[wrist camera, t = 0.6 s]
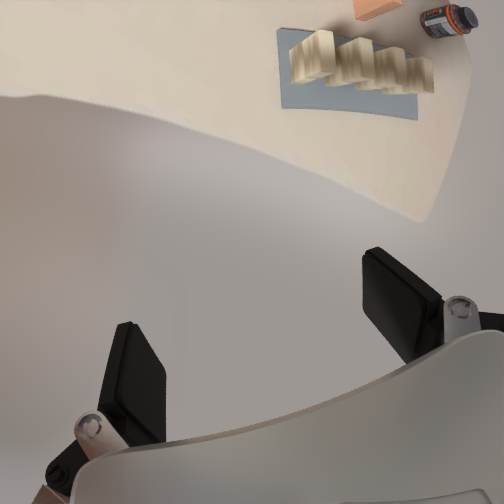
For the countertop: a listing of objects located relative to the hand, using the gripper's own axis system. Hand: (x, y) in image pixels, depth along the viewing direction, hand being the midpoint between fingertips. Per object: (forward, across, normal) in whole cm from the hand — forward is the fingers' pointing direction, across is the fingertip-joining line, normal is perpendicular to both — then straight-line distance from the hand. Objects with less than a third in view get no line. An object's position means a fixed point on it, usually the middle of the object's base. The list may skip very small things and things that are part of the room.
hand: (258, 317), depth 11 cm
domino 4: (+29, -24, -11) cm, 39 cm away
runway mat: (+30, -24, -11) cm, 40 cm away
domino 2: (+29, -20, -12) cm, 37 cm away
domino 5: (+29, -29, -10) cm, 42 cm away
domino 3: (+30, -29, -24) cm, 48 cm away
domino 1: (+29, -15, -13) cm, 35 cm away
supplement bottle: (+30, -46, -23) cm, 59 cm away
